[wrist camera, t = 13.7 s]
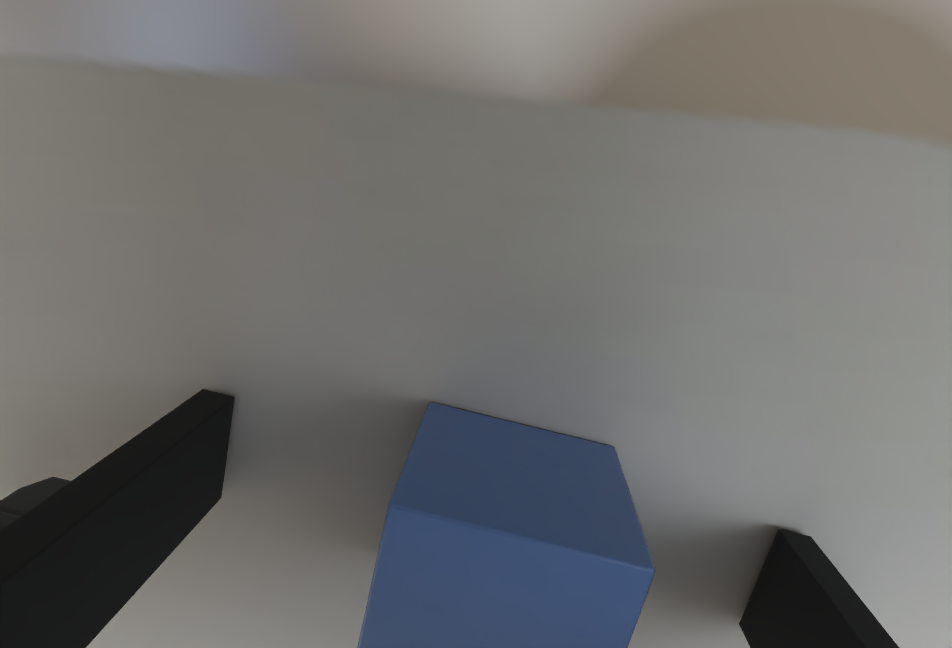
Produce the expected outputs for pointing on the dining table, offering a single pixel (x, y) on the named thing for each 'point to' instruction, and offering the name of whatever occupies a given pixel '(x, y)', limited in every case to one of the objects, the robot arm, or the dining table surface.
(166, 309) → the dining table surface
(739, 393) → the dining table surface
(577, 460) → the blue block
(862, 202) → the dining table surface
